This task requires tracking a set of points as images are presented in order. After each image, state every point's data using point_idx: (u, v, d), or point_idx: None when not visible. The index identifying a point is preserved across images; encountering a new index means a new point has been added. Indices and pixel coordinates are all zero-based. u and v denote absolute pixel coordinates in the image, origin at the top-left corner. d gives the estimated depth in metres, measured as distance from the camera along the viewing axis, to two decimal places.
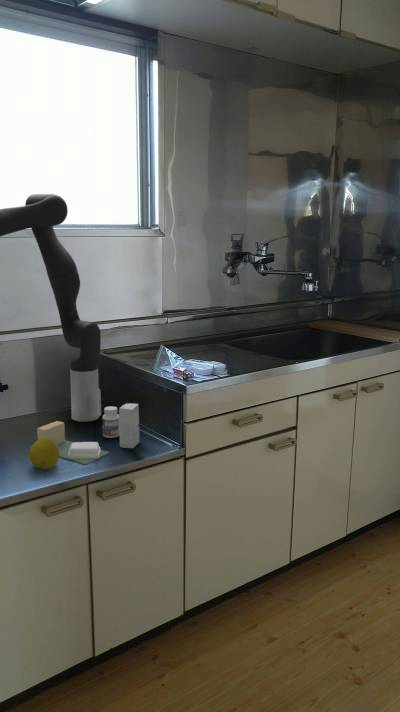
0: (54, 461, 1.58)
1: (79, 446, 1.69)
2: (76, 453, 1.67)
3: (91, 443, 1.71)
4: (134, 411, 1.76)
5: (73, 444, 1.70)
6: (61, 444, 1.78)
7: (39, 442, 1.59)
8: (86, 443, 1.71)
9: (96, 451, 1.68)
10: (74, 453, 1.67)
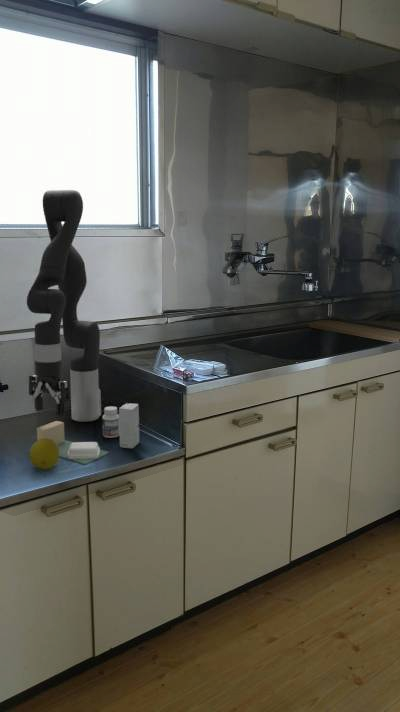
0: (54, 461, 1.58)
1: (78, 446, 1.69)
2: (75, 453, 1.67)
3: (91, 443, 1.71)
4: (134, 411, 1.76)
5: (72, 444, 1.70)
6: (60, 444, 1.78)
7: (39, 442, 1.59)
8: (86, 443, 1.71)
9: (96, 451, 1.68)
10: (74, 453, 1.67)
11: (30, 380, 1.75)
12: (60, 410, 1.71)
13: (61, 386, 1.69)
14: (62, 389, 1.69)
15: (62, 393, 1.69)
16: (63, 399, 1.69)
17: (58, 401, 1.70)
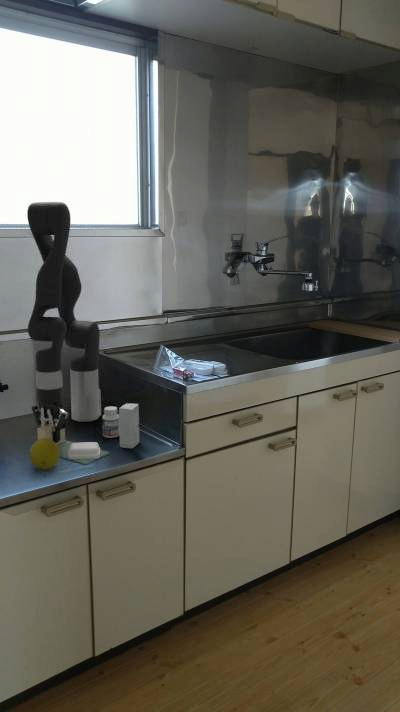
0: (54, 461, 1.58)
1: (79, 446, 1.68)
2: (76, 453, 1.67)
3: (91, 443, 1.71)
4: (134, 411, 1.76)
5: (73, 444, 1.70)
6: (61, 444, 1.78)
7: (39, 442, 1.59)
8: (86, 443, 1.71)
9: (96, 451, 1.68)
10: (74, 453, 1.67)
11: (33, 410, 1.77)
12: (56, 438, 1.75)
13: (61, 417, 1.71)
14: (61, 420, 1.71)
15: (60, 423, 1.72)
16: (59, 427, 1.73)
17: (54, 429, 1.74)
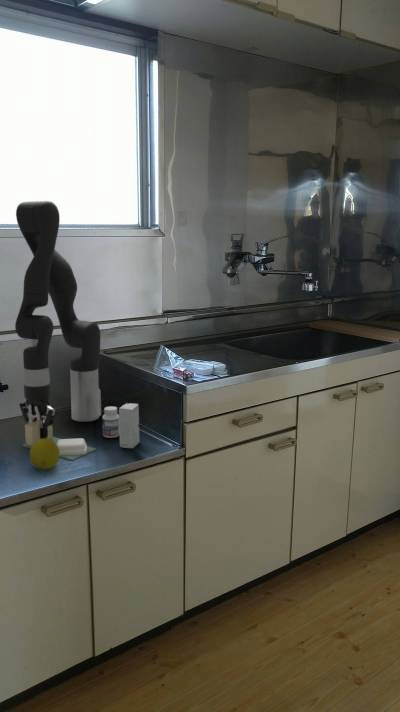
0: (54, 461, 1.58)
1: (66, 443, 1.71)
2: (63, 450, 1.70)
3: (78, 439, 1.74)
4: (134, 411, 1.76)
5: (60, 441, 1.72)
6: None
7: (39, 442, 1.59)
8: (73, 439, 1.74)
9: (83, 447, 1.71)
10: (61, 450, 1.70)
11: (21, 407, 1.80)
12: (43, 434, 1.77)
13: (48, 414, 1.74)
14: (49, 416, 1.74)
15: (47, 419, 1.75)
16: (46, 424, 1.75)
17: (41, 426, 1.76)
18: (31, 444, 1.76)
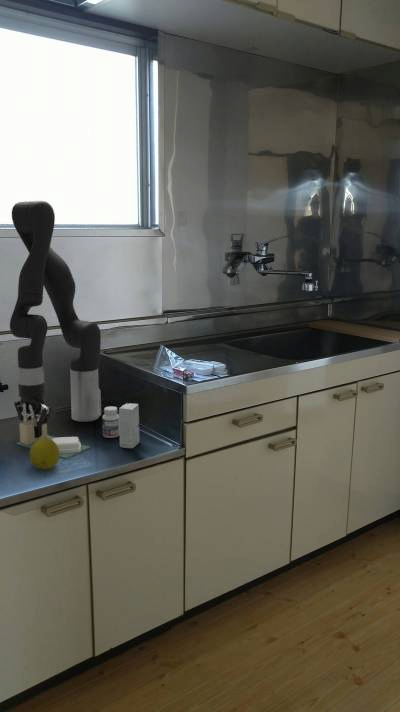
0: (54, 461, 1.58)
1: (60, 441, 1.72)
2: None
3: (72, 437, 1.75)
4: (134, 411, 1.76)
5: (54, 439, 1.73)
6: None
7: (39, 442, 1.59)
8: (67, 437, 1.75)
9: (77, 445, 1.72)
10: None
11: (16, 406, 1.81)
12: (38, 432, 1.79)
13: (42, 412, 1.75)
14: (43, 415, 1.75)
15: (41, 418, 1.76)
16: (40, 422, 1.76)
17: (36, 424, 1.78)
18: (25, 442, 1.77)
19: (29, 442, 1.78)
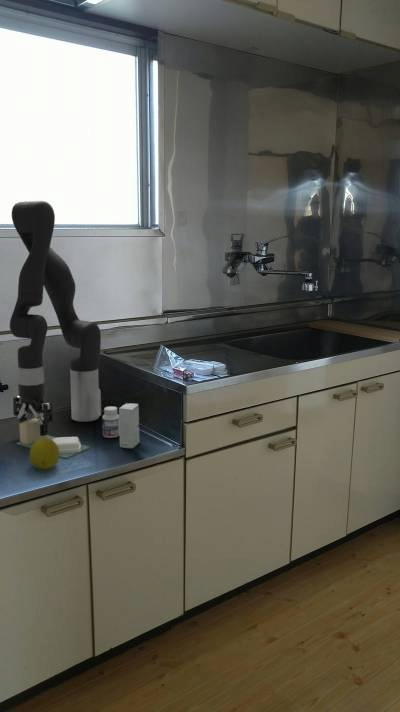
0: (54, 461, 1.58)
1: (60, 441, 1.72)
2: None
3: (72, 437, 1.75)
4: (134, 411, 1.76)
5: (54, 439, 1.73)
6: None
7: (39, 442, 1.59)
8: (67, 437, 1.75)
9: (77, 445, 1.72)
10: None
11: (14, 401, 1.81)
12: (43, 431, 1.77)
13: (44, 408, 1.74)
14: (45, 411, 1.74)
15: (45, 415, 1.75)
16: (46, 420, 1.75)
17: (41, 422, 1.76)
18: (25, 442, 1.77)
19: (29, 442, 1.78)
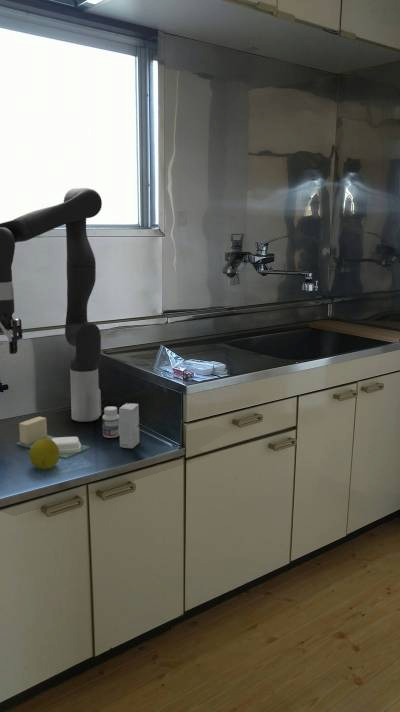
0: (54, 461, 1.58)
1: (60, 441, 1.72)
2: None
3: (71, 437, 1.75)
4: (134, 411, 1.76)
5: (53, 439, 1.73)
6: None
7: (39, 442, 1.59)
8: (67, 437, 1.75)
9: (77, 445, 1.72)
10: None
11: None
12: (13, 348, 1.74)
13: (13, 324, 1.71)
14: (14, 327, 1.71)
15: (14, 331, 1.71)
16: (15, 337, 1.71)
17: (10, 339, 1.73)
18: (25, 442, 1.77)
19: (29, 442, 1.78)
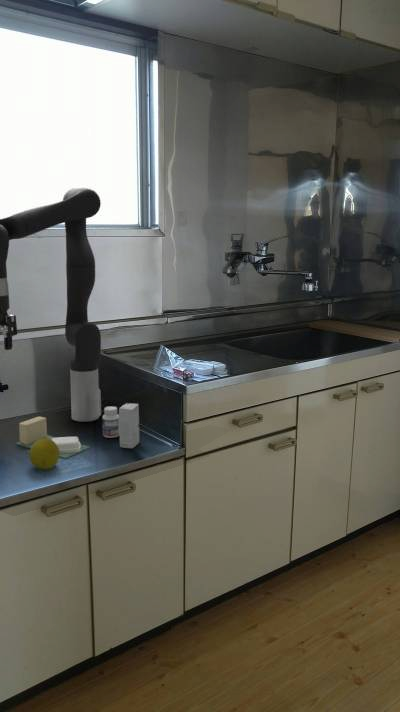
0: (54, 461, 1.58)
1: (60, 441, 1.72)
2: None
3: (71, 437, 1.75)
4: (134, 411, 1.76)
5: (53, 439, 1.74)
6: None
7: (39, 442, 1.59)
8: (66, 437, 1.75)
9: (77, 445, 1.72)
10: None
11: None
12: (8, 344, 1.74)
13: (8, 320, 1.71)
14: (9, 323, 1.71)
15: (9, 327, 1.72)
16: (10, 333, 1.72)
17: (5, 335, 1.73)
18: (25, 442, 1.77)
19: (29, 442, 1.78)
